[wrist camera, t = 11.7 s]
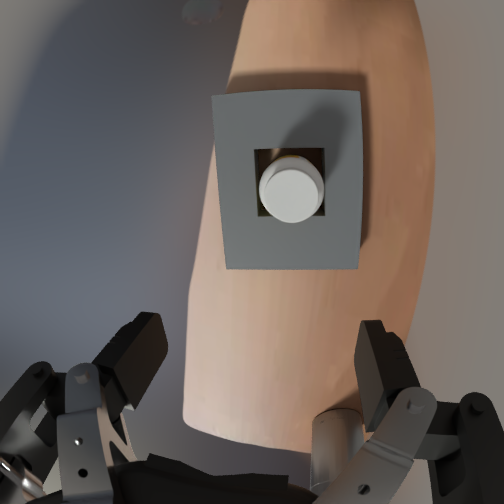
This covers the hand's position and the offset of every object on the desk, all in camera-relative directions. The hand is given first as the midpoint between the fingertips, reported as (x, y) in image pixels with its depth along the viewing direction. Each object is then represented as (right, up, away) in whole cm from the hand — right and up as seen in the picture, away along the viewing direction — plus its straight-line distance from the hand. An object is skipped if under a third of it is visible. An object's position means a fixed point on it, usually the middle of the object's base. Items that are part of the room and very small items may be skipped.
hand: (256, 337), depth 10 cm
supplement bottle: (+4, +11, +18) cm, 22 cm away
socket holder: (+4, +11, +18) cm, 21 cm away
